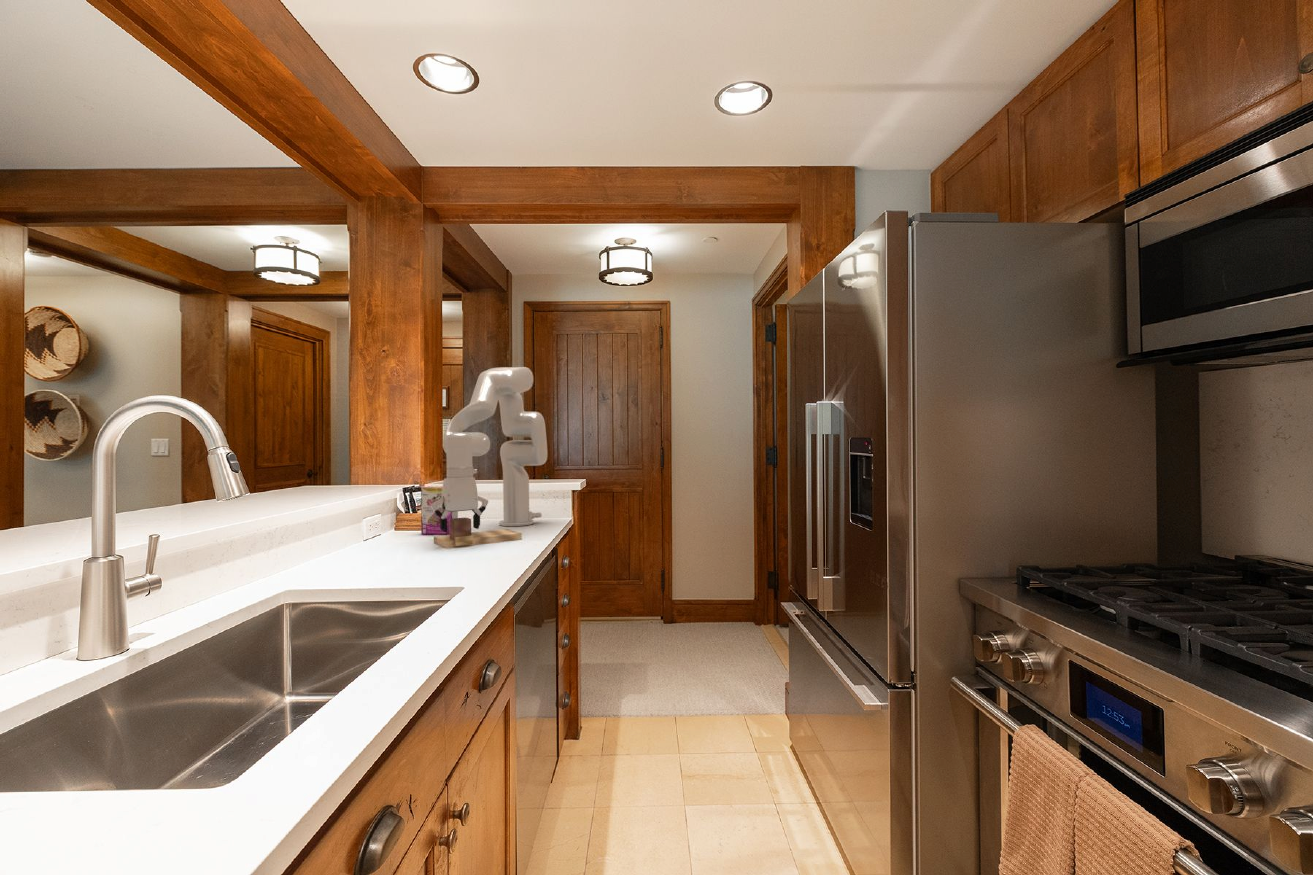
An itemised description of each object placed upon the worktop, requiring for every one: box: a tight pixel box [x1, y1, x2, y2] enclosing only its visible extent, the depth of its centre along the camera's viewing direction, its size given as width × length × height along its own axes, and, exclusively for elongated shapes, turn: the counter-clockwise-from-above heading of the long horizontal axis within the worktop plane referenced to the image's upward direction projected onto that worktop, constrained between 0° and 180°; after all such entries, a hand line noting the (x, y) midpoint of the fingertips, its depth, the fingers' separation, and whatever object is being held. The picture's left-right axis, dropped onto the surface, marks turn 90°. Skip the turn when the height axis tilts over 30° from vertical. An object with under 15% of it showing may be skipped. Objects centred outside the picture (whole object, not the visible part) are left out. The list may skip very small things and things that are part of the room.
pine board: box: [433, 528, 523, 549], centre depth 193 cm, size 24×12×2 cm, turn 126°
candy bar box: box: [420, 485, 459, 536], centre depth 208 cm, size 11×5×16 cm, turn 84°
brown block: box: [449, 516, 473, 547], centre depth 185 cm, size 5×6×8 cm
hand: (460, 529), depth 185 cm, fingers open, 9 cm apart
